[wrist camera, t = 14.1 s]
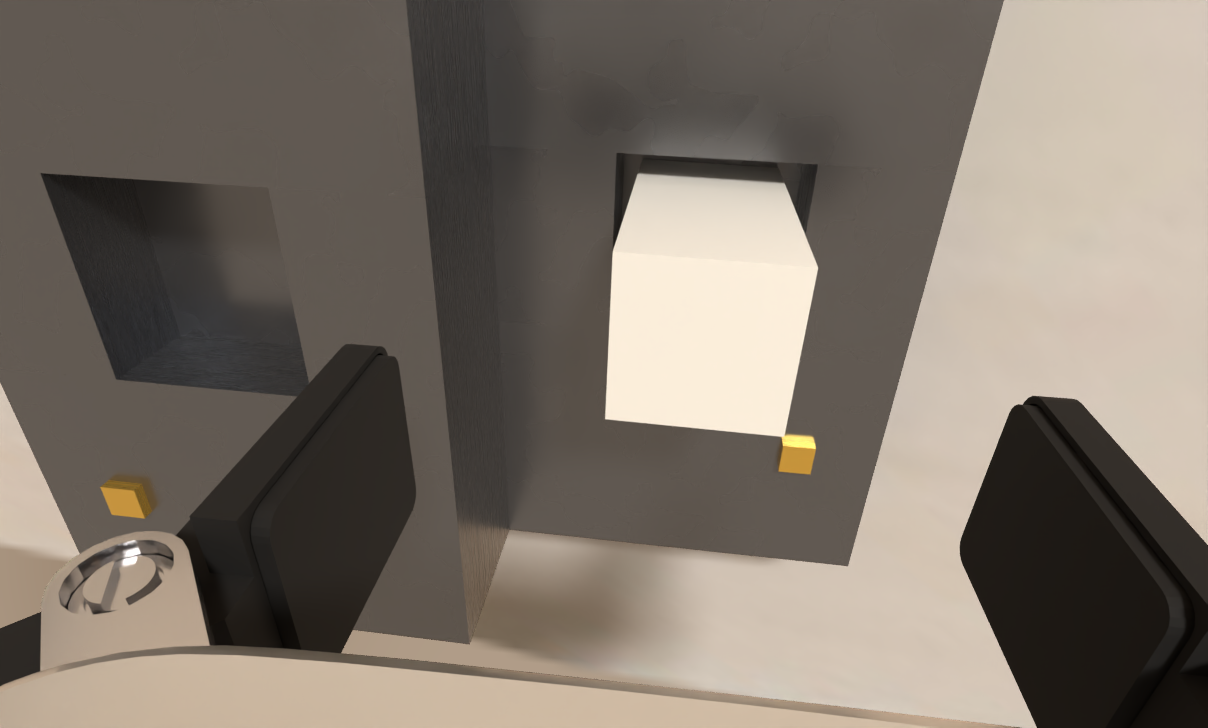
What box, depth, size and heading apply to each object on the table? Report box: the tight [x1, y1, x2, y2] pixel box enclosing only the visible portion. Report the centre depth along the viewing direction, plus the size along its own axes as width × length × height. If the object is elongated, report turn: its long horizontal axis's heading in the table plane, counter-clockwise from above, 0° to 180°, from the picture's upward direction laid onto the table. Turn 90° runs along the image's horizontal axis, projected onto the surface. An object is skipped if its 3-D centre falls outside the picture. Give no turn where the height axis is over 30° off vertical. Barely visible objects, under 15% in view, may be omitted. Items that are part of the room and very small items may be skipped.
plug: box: [605, 159, 818, 437], centre depth 18 cm, size 4×4×8 cm
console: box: [0, 0, 1004, 644], centre depth 19 cm, size 22×24×9 cm
